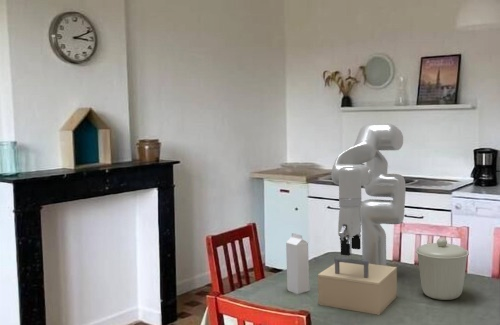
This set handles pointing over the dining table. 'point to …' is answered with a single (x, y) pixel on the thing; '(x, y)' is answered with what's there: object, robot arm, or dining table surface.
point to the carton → (357, 294)
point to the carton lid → (357, 271)
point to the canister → (442, 269)
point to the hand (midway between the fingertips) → (350, 251)
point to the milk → (297, 264)
